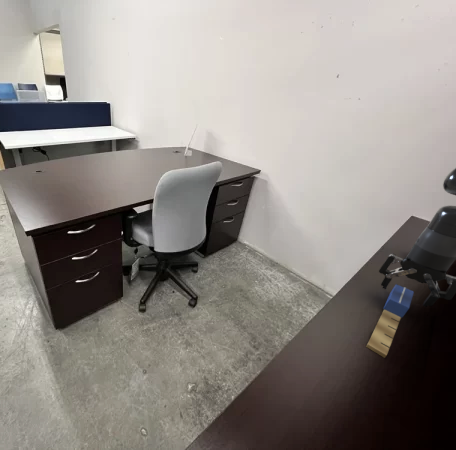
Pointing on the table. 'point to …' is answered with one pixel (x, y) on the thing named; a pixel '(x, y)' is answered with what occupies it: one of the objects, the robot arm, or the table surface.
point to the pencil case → (399, 300)
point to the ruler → (383, 333)
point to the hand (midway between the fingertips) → (403, 295)
